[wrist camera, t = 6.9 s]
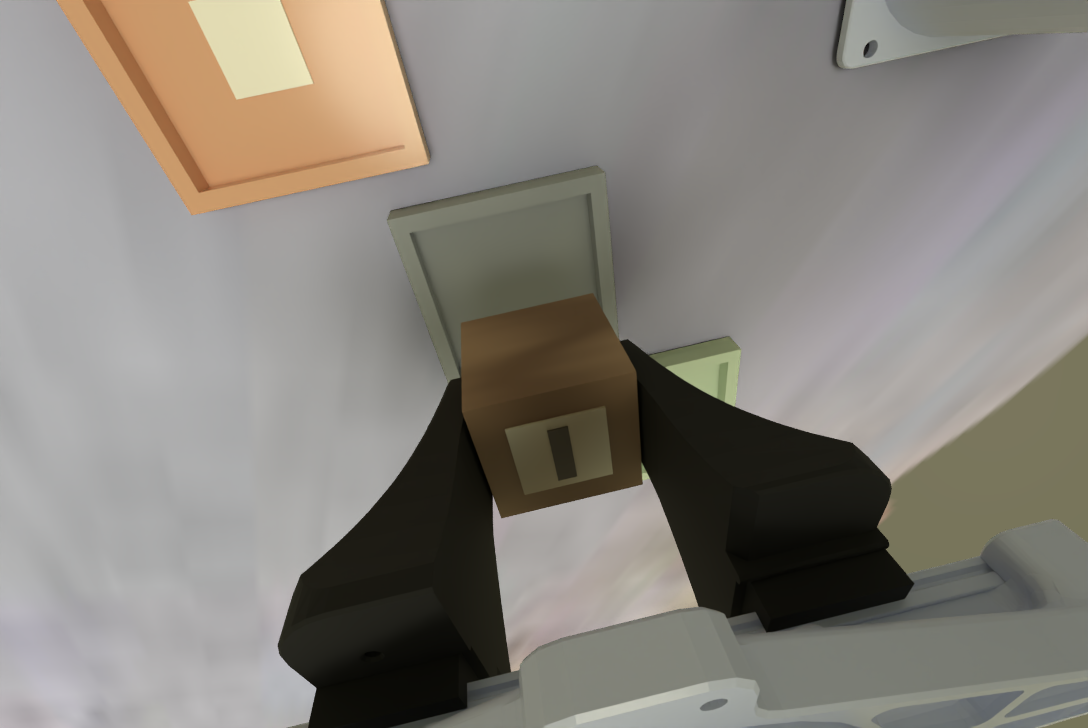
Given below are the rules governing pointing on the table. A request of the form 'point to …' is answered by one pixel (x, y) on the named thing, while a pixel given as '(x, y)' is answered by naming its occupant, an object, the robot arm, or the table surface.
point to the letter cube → (550, 404)
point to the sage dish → (705, 369)
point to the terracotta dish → (257, 91)
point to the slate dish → (506, 253)
